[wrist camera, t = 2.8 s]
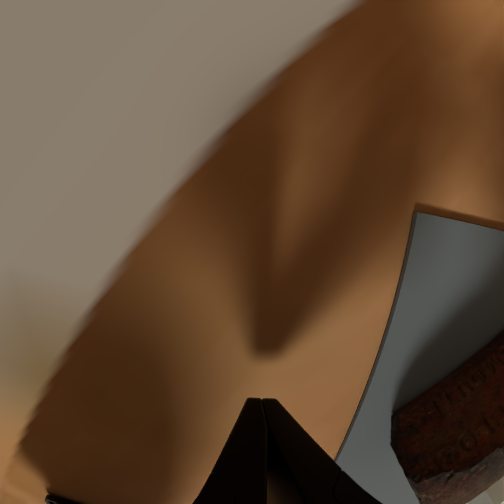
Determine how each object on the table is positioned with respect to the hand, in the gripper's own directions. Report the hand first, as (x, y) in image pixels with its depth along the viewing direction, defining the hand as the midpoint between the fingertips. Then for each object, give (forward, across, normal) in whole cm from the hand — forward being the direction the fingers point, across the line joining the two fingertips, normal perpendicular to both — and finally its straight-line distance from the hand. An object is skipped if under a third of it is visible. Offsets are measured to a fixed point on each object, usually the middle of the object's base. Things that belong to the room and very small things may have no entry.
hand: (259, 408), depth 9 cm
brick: (+1, -10, 0) cm, 10 cm away
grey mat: (+1, -14, +4) cm, 15 cm away
